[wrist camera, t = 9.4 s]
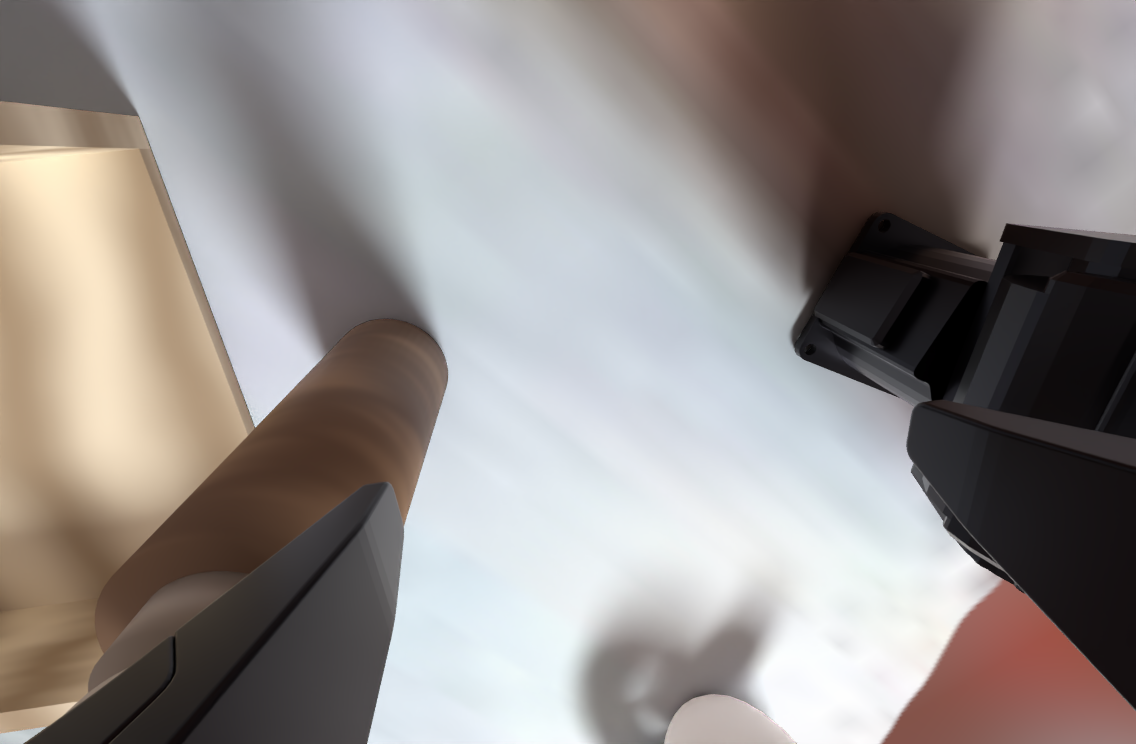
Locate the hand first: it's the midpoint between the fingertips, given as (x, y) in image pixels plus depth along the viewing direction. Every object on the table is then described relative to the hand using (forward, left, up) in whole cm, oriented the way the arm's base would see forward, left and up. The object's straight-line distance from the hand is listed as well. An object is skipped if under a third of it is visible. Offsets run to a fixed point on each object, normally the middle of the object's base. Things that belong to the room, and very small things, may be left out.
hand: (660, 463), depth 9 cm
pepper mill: (+6, +6, -13) cm, 16 cm away
